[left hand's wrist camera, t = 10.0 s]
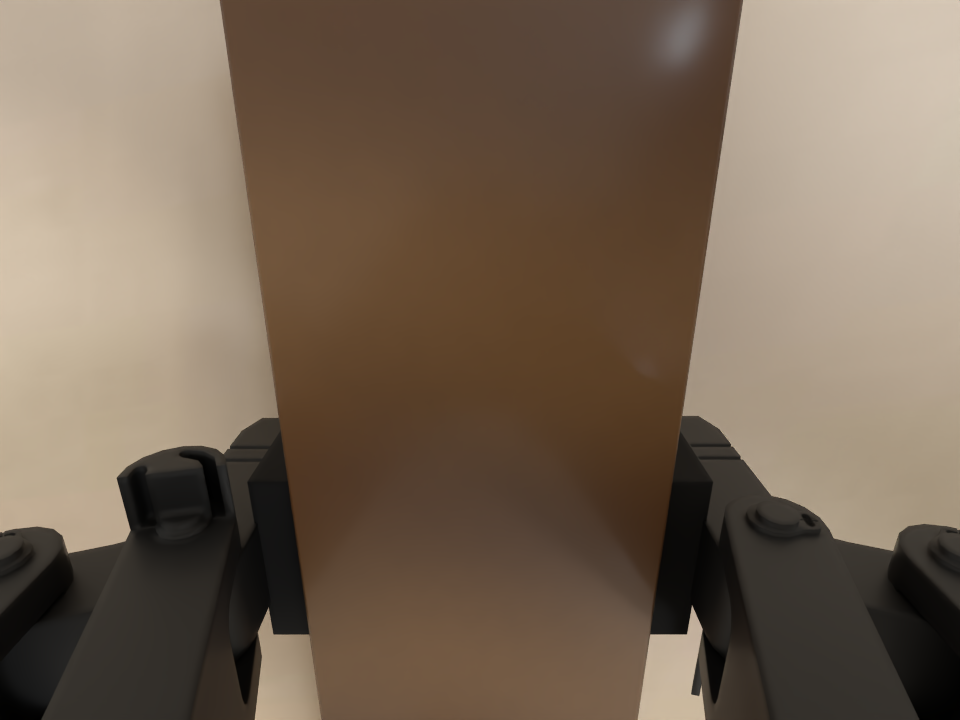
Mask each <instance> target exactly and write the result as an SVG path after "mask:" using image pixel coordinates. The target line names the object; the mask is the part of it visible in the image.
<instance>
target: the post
mask: <svg viewBox="0 0 960 720" xmlns="http://www.w3.org/2000/svg"><path fill="white" fill-rule="evenodd" d="M742 4H743V0H220V5H221V12H222V19H223V26H224V33H225V40H226V47H227V54H228V61H229V68H230V76H231V83H232V90H233V97H234V104H235V111H236V118H237V125H238V132H239V139H240V146H241V153H242V160H243V167H244V175H245V182H246V189H247V196H248V203H249V210H250V217H251V224H252V231H253V238H254V245H255V252H256V259H257V266H258V274H259V281H260V288H261V295H262V302H263V309H264V316H265V323H266V330H267V337H268V344H269V351H270V358H271V365H272V373H273V380H274V387H275V394H276V401H277V408H278V415H279V422H280V429H281V436H282V443H283V450H284V457H285V464H286V472H287V479H288V486H289V493H290V500H291V507H292V514H293V521H294V528H295V535H296V542H297V549H298V556H299V563H300V570H301V578H302V585H303V592H304V599H305V606H306V613H307V620H308V627H309V634H310V641H311V648H312V655H313V662H314V669H315V677H316V684H317V691H318V698H319V705H320V712H321V719H322V720H638V713H639V706H640V699H641V692H642V686H643V679H644V672H645V665H646V658H647V651H648V645H649V638H650V631H651V624H652V617H653V611H654V604H655V597H656V590H657V583H658V576H659V570H660V563H661V556H662V549H663V542H664V536H665V529H666V522H667V515H668V508H669V501H670V495H671V488H672V481H673V474H674V467H675V461H676V454H677V447H678V440H679V433H680V427H681V420H682V413H683V406H684V399H685V392H686V386H687V379H688V372H689V365H690V358H691V352H692V345H693V338H694V331H695V324H696V317H697V311H698V304H699V297H700V290H701V283H702V277H703V270H704V263H705V256H706V249H707V242H708V236H709V229H710V222H711V215H712V208H713V202H714V195H715V188H716V181H717V174H718V168H719V161H720V154H721V147H722V140H723V133H724V127H725V120H726V113H727V106H728V99H729V93H730V86H731V79H732V72H733V65H734V58H735V52H736V45H737V38H738V31H739V24H740V18H741V11H742Z"/></svg>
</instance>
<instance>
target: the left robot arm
mask: <svg viewBox="0 0 960 720" xmlns="http://www.w3.org/2000/svg"><path fill="white" fill-rule="evenodd" d="M117 481H118V485H119V488H120V492H121V496H122V500H123V503H124V507H125V511H126V514H127V518H128V522H129V526H130V529H131V531H130V533H129V535H128V538H127V540H126V541H125V542H122V543H118V544H114V545H109V546H104V547H99V548H94V549H89V550H84V551H79V552H74V553H69V554H68V552H67V549H66V546H65V543H64V540H63V537H62V535H60V534H59V533H58V532H56V531H55V530H54V529H49V528H42V527H30V528H21V529H13V530H8V531H5V532H4V533H2V532H1V533H0V720H255V712H256V703H257V694H258V685H259V677H260V668H261V659H262V655H261V648H260V642H259V637H258V630H259V628H260V626H261V623H262V621H263V619H264V617H265V614H266V612H267V610H268V607H269V611H270V617H271V623H272V628H273V634H309V627H308V620H307V613H306V606H305V599H304V592H303V585H302V578H301V570H300V563H299V556H298V549H297V542H296V535H295V528H294V521H293V514H292V507H291V500H290V493H289V486H288V479H287V472H286V464H285V457H284V450H283V443H282V436H281V429H280V422H279V418H262V419H260V420H259V421H257V422H256V423H254V424H252V425H251V426H249V427H248V428H246V429H244V430H243V431H241V433H240V434H239V435H238V437H237V438H236V439H235V441H234V442H233V443H232V444H231V446H230V449H228V450H227V451H226V452H225V453H224V455H223V454H222V453H221V452H219V451H218V450H217V449H213V448H209V447H204V446H183V447H178V448H172V449H167V450H162V451H160V452H157V453H154V454H152V455H149V456H146V457H143V458H142V459H140V460H138V461H136V462H135V463H133V464H131V465H130V466H128V467H127V468H126V469H125V470H124V471H123V472H122V473H121V474H120V475H119V476H118V477H117ZM692 606H693V608H694V610H695V612H696V615H697V617H698V619H699V621H700V624H701V626H702V628H703V631H702V637H701V642H700V647H699V653H698V658H697V663H696V669H695V674H694V680H693V686H692V692H691V694H692V695H697V696H699V694H700V689H701V684H702V693H703V701H704V710H705V719H706V720H960V530H957V529H956V528H952V527H947V526H937V525H928V524H922V525H915V526H908V527H907V528H905V529H904V530H903V531H902V532H900V533H899V535H898V539H897V542H896V545H895V548H894V551H890V550H885V549H880V548H875V547H870V546H865V545H859V544H854V543H849V542H845V541H841V540H837V539H834V538H833V536H832V534H831V532H830V530H829V529H828V528H827V526H826V525H825V524H824V522H823V521H822V520H821V519H820V518H819V517H818V516H816V515H815V514H814V513H812V512H811V511H809V510H808V509H806V508H805V507H803V506H800V505H798V504H796V503H793V502H791V501H789V500H786V499H782V498H778V497H773V496H771V495H770V494H769V492H768V491H767V490H766V489H765V487H764V486H763V485H762V483H761V482H760V481H759V480H758V478H757V477H756V476H755V474H754V473H753V472H752V471H751V469H750V468H749V467H748V466H747V464H746V463H745V462H744V460H741V459H740V455H739V454H738V453H737V451H736V450H735V449H734V448H733V447H731V444H730V442H729V441H728V440H727V439H726V437H725V436H724V435H723V434H722V432H721V431H720V430H719V429H718V428H717V427H715V426H713V425H712V424H710V423H708V422H707V421H705V420H704V419H702V418H700V417H699V416H682V420H681V427H680V433H679V440H678V447H677V454H676V461H675V467H674V474H673V481H672V488H671V495H670V501H669V508H668V515H667V522H666V529H665V536H664V542H663V549H662V556H661V563H660V570H659V576H658V583H657V590H656V597H655V604H654V611H653V617H652V624H651V631H650V634H687V631H688V625H689V619H690V614H691V608H692Z"/></svg>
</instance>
